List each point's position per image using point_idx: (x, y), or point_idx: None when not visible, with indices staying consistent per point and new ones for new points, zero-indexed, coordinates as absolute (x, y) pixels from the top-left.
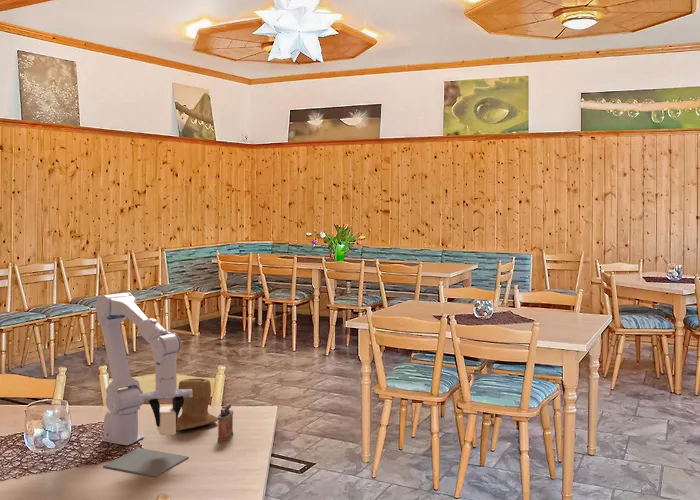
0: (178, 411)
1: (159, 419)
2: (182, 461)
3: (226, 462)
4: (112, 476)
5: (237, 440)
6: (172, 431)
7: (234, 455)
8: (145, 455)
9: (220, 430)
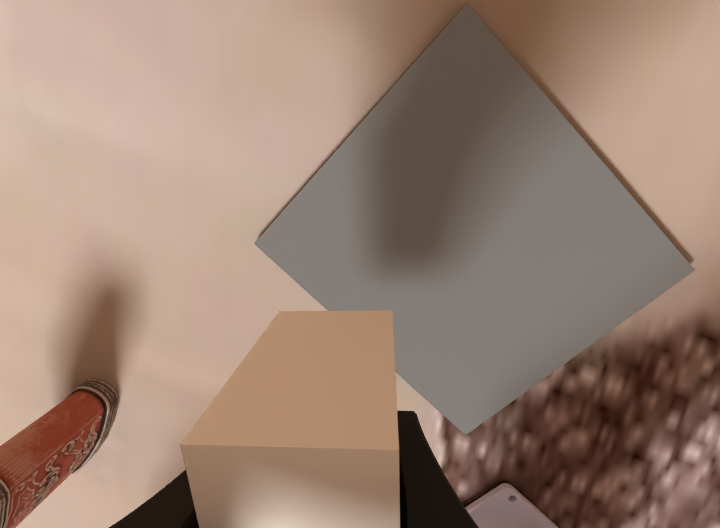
0: (152, 505)
1: (401, 452)
2: (290, 203)
3: (73, 113)
4: (685, 111)
5: (33, 380)
6: (299, 321)
7: (37, 200)
8: (456, 333)
9: (54, 426)
